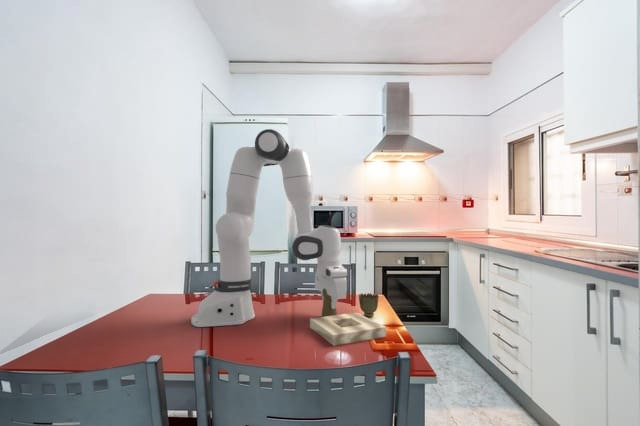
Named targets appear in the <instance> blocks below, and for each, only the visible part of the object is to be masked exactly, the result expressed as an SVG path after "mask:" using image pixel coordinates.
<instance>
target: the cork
mask: <svg viewBox="0 0 640 426" xmlns="http://www.w3.org/2000/svg"><path fill="white" fill-rule="evenodd" d="M322 294H323V296H324V300H323V299H322V308H321V310H322V311H321V316H320V317H325V316H333V315H338V312H337V311H338V310H337V307H336V308H335V309H332V308H331V307H330V303H331V302H332V299H331V296H329V295H327V291H326V289H323V291H322Z"/></svg>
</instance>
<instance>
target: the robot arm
mask: <svg viewBox="0 0 640 426" xmlns="http://www.w3.org/2000/svg"><path fill="white" fill-rule="evenodd" d="M309 160H310V159H309V157H308V154H307V153H306V151H305V150H303V149H299V148H290V144H289V143H288V142H287V141H286V140H285V138H284V137H283V136H282V134H281V133H280V132H279V131H278V130H277V131H276V129H270V128H269V129H263V130H261V131H260V132H258V134H257V135H256V137H255V140H254V146H252V147H250V146H244V147H240V148H238V149H237V150H236V152H235V154H234V156H233V160H232V162H231V167H230V172H229V177H228V182H227V188H226V192H225V195H226V196H225V197H226V209H225V210H226V211H225V213H224V214H223V215H222V216H220V217H219V219H218V220H217V221H216V223H215V233H216V236H217V237H216V238H217V247H218V254H219V259H220V260H219V275H220V276H219V277H220V278H219V280H216V279H214V280H212V286H213V287H214V291H212V292H211V293H210V294H208V295H207V296H206V297H205V298H204V299H202V300H201V302H200V303H199V306H198V309H197V314H194V315H193V316H191V318H190V319H191V320H190V323H191V325H192V326H194V327H197V328H205V327H218V326H219V327H220V326H221V327H222V326H235V325H243V324H244V323H246V322H248V321H251V320H253V319H254V318H255V317H256V314H255V311H254V306H253V300H252V293H253V280H252V278H251V277H252V271H251V270H252V269H251V268H252V265H251V264H252V262H251V260H252V259H251V258H252V257H251V253H250V244H249V242H250V241H249V238H250V237H251V235H252V233H253V231H254V223H255V215H256V201H257V196H258V189H259V183H260V179H261V172H262V169H263V167H269V166H277V165H279V167H280V169H281V173H282V174H281V175H282V182H283V183H282V184H283V188H284V193H285V195H286V198H287V200H288V201H289V202H290V204H291V205H292V208H293V210H294V215H295V220H296V228H297V229H296V230H297V237H296V238H295V239H294V241H293V243H292V246H291V249H292V253H293V255H294V256H295V257H296V258H297V259H299V260H301V261H309V260H313V259H317V260H316V261H317V262H316V263H317V266H316V268H317V270H316V272H315V277H314V288H315V290H317V291H319V292H320V295H321V299H322V301H323V300H324V296H323V294H322V291H323V289H326V291H327V295H329V296H331V299H332V302H331V303H330V307H331V308H332V309H335V308H336V309H337V303H338V300H342V299H345V298H346V297H347V292H348V291H347V288H348V287H347V283H348V282H347V276H348V270H347V269H346V268H345V267H344V266H343V264H342V259H341V250H342V239H341V233H340V230H339V229H338V228H337V227H336V226H335V227H334V226H330V225H325V224H322V225H319V226H318V227H317V228H314V226H313V217H312V200H313V191H314V190H313V188H314V184H313V173H312V168H311V164H310V161H309Z"/></svg>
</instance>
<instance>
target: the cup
mask: <svg viewBox="0 0 640 426" xmlns="http://www.w3.org/2000/svg"><path fill="white" fill-rule="evenodd" d="M358 301H359V307H360V310H361V311H362V312H363V316H365V317H367V318H372V317H374V315H375V312H376V311H377V309H378V306H379V294H377V293H376V294H375V293H371V292H370V293H368V292H367V293H362V292H361V293H359V294H358Z"/></svg>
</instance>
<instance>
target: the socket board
mask: <svg viewBox="0 0 640 426" xmlns="http://www.w3.org/2000/svg"><path fill="white" fill-rule="evenodd" d="M309 327H310V329H311V330H313V331H314V332H315V333H317V334H318V335H320V337H322V338H323V339H325V341H327V342H328V343H330V345H333V346H339V345H345V344H351V343H352V344H353V343H358V342H363V341H369V340H374V339H375V340H376V339H381V338H386V337H387V327H386V326H385V325H383V324H381V323H378V322H376V321H374V320H373V319H372V318H370V317H365V316H364V314H363V315H362V314H361V313H359V312H350V313H343V314H337V315H333V316H325V317H321V316H319V317H312V318H311V317H310V318H309Z"/></svg>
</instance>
